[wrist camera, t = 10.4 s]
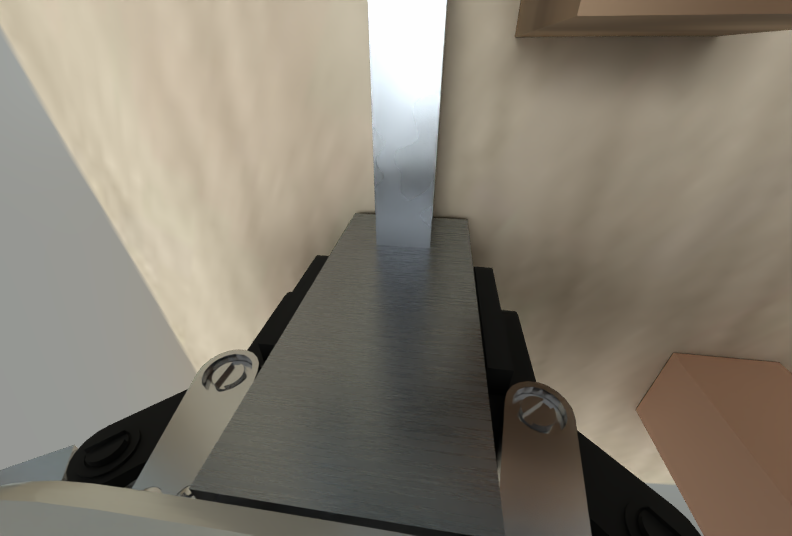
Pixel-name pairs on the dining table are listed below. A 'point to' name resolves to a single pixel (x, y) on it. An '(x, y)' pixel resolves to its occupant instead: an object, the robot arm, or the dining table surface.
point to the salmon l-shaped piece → (726, 441)
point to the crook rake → (379, 341)
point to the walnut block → (651, 17)
